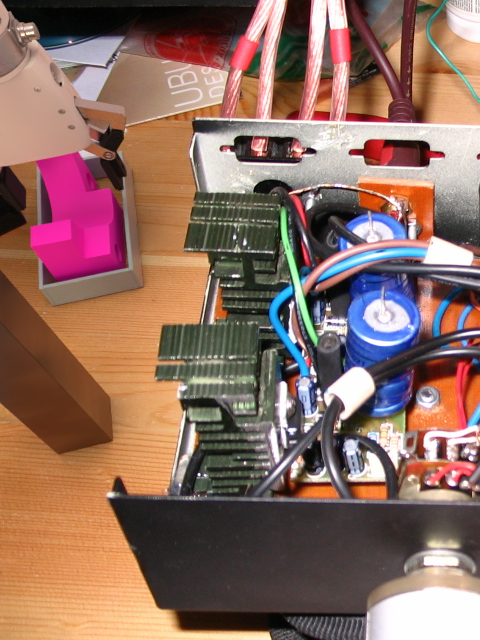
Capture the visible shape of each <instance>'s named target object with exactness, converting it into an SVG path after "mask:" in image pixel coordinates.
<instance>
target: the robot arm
mask: <svg viewBox="0 0 480 640" xmlns="http://www.w3.org/2000/svg"><path fill="white" fill-rule="evenodd" d="M40 39H41V35H40V32H39V29H38V26H37V25H36V24H35V23H34V22H33V21H32V22H27V23H25V22H20V21H19V20H18V19H17V18H16V17H14V15H13V13H12V11H11V10H10V11H8V10H7V8H6V6H5V4H4V3H3V1H2V0H0V195H1V196H2V198H3V199H4V200H5V201H6V202H8V201H9V202H10V203H11V204H12V206H13V207H14V208H15V209H16V211H17V212H23V211H25V210H26V209H27V189H26V187H25V185H24V184H23V183H22V182H21V180H20V179H19V178H18V177H17V175H16V173H15V172H14V170H13V169H12V168H11V167H10V166H14V165H19V164H20V165H21V164H25V163H31V162H35V161H36V160H42V159H47V158H52V157H56V156H61V155H66V154H70V153H75V152H79V153H80V152H82V151H85V152H87V153H90V154H92V155H93V156H95V155H96V156H98V157H100V164H101V166H102V168H103V170H104V171H105V173H106V175H107V176H108V177H107V178H108V180H109V181H110V183H111V185H112V186H113V189H114V190H115V191H118V192H120V191H122V190H124V185H123V177H127V171H126V168H125V165H124V163H123V161H122V160H121V158H120V156H119V154H118V153H117V151H118V150H119V148H120V146H121V145H122V143H123V142H124V140H125V133H126V132H125V131H126V126H127V125H126V124H127V111H126V108H125V107H124V106H123V105H120V104H114V103H108V102H102V101H96V100H91V99H85V98H82V97H81V96H80V94H79V92H78V91H77V90H76V88H75V86H74V85H73V84H72V82H71V81H70V79H69V78H68V76H67V75H66V74H65V73H64V71H63V70H62V69H61V67H60V66H59V65H58V64H57V63H56V61H55V60H54V59H53V57H52V56H51V55H50V54H49V52H47V50H46V49H45V48H44V47H43V46H42V45H41V44H40V42H38V41H37V40H40ZM92 120H96V121H101V122H107V123H109V125H108V126H107V128H106V129H102V128H99V127H98V126H96V125H93V124H92V123H90V122H92Z"/></svg>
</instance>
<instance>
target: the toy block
mask: <svg viewBox="0 0 480 640" xmlns="http://www.w3.org/2000/svg"><path fill="white" fill-rule="evenodd" d="M83 158H84V157H82V155H81V153H80V151H79V152H75V153H70V154H66V155H61V156H56V157H52V158H47V159H42V160H36V161H34V162H35V164H36V167H37V166H38V168H39V170H40V172H41V174H42V177H43V180H44V182H45V185H46V188H47V191H48V195H49V199H50V203H51V209H52V220H53V222H52V223H47V224H42V225H38V224H37V225H31V226H30V248H31V249H32V250H33V252H34V253H35V255H36V256H37V257H39V258H40V259H41V261H42V262H43V263H44V265H45V266H46V267H47V269H48V270H49V271H50V272H51V274H52V275H53V276H54V278H55V279H56V282H62V281H67V280H72V279H76V278H81V277H86V276H91V275H96V274H100V273H105V272H110V271H115V270H120V269H125V268H128V267H127V254H126V253H127V251H126V236H125V222H124V209H123V207H121V205H120V203H119V201H118V200H117V198H116V196H115V194H114V193H113V191H112V189H111V187H106V188H102V189H101V188H100V189H99V184H98V182H97V179H94V177H93V175H92V174H91V172H90V170H89V169H88V167H87V165H86V163H85V162H84V160H83Z"/></svg>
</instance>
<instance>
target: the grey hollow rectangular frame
mask: <svg viewBox="0 0 480 640" xmlns="http://www.w3.org/2000/svg"><path fill="white" fill-rule="evenodd" d="M117 153H118V154H119V156H120V158H121V160H122V161H123V163H124V165H125V168H126V171H127V177H123V185H124V190H121V196H122V197H121V198H122V210H123V221H124V232H125V243H126V253H127V263H128V264H127V265H128V267H127V268H125V269H120V270H115V271H110V272H105V273H100V274H96V275H91V276H86V277H81V278H76V279H72V280H67V281H62V282H58V281H57V280H56V279H55V278H54V276H53V275H52V274H51V272H50V271H49V270H48V269H47V267H46V266H45V265H44V263H43V262H42V261H41V259H40V258H39V257H38V256H37V257H38V259H37V260H38V261H37V262H38V290H39V291H40V292H41V293H42V294H43V296H44V297H45V299H46V300H47V301H48V302H49V304H51V306H52V307H56V306H60V305H65V304H70V303H75V302H78V301H83V300H89V299H93V298H98V297H103V296H108V295H112V294H117V293H121V292H126V291H131V290H137V289H140V288H144V277H143V268H142V257H141V247H140V237H139V227H138V219H137V208H136V206H137V205H136V197H135V189H134V188H135V187H134V178H133V169H132V167H131V165H130V164H129V162H128V159H127V158H126V156H125V154H124V152H123V151H122V150H117ZM82 158H83V160H84V162H85V163H86V165H87V167H88V169H89V170H90V172H91V174H92V175H93V177H94V179H95V180H97V179H102V178H108V176H107V175H106V173H105V171H104V170H103V168H102V166H101V164H100V157H98V156H96V155H90V156H85V157H82ZM36 203H37V204H36V206H37V207H36V209H37V225H42V224H47V223H52V222H53V220H52V209H51V203H50V199H49V195H48V191H47V188H46V185H45V182H44V180H43V177H42V174H41V172H40V170H39V168H38V166H37V165H36Z"/></svg>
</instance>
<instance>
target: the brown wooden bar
mask: <svg viewBox="0 0 480 640" xmlns="http://www.w3.org/2000/svg"><path fill="white" fill-rule="evenodd" d="M0 404H1V406H3V407H4V408H5V409H6V410H7V411H8V412H9V413H11V415H13V416H14V417H15V418H16V419H17V420H19V421H20V423H22V424H23V425H24V426H25V427H26V428H28V430H30V431H31V432H32V433H33V434H35V435H36V436H37V437H38V438H39V439H40V440H41V441H42V442H43V443H44V444H46V445H47V447H49V448H50V449H51V450H52V451H54V453H56V454H57V455H61V454H64V453H68V452H72V451H77V450H80V449H85V448H89V447H93V446H96V445H101V444H106V443H111V442H113V440H114V439H113V426H112V425H113V424H112V411H111V397H110V396H109V394H108V393H107V392H106V391H105V389H103V387H102V386H101V385H100V384H99V383H98V381H97V380H96V379H95V378H94V377H93V376H92V374H91V373H90V372H89V371H88V370H87V368H86V367H85V366H83V364H82V363H81V361H79V360H78V359H77V357H76V356H75V355H74V354H73V352H72V351H71V350H70V349H69V347H68V346H66V344H65V343H64V342H63V341H62V340H61V338H60V337H59V336H58V335H57V333H55V332H54V330H53V329H52V328H51V327H50V325H49V324H48V323H47V322H46V321H45V320H44V319H43V318H42V316H41V315H40V314H39V313H38V312H37V310H36V309H35V308H34V307H33V306H32V304H30V302H29V301H28V300H27V299H26V298H25V297H24V295H23V294H22V293H21V291H19V289H18V288H17V287H16V286H15V285H14V284H13V283H12V282H11V280H10V279H9V278H8V276H7V275H5V273H4V272H3V271H2V270H1V269H0Z"/></svg>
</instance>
